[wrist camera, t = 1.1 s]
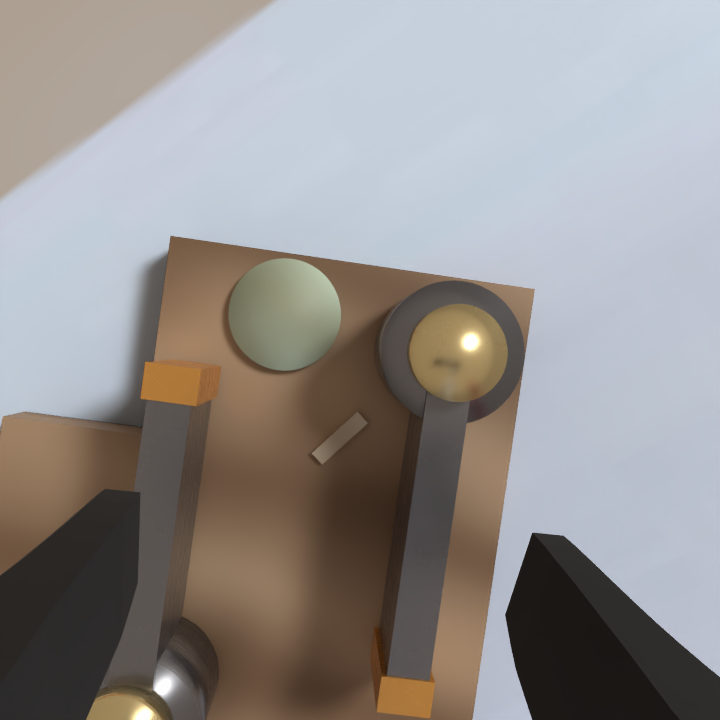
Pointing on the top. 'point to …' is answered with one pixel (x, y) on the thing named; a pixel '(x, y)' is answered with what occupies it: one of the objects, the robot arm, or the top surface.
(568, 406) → the top surface
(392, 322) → the dark grey lever
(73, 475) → the walnut base
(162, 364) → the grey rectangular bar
